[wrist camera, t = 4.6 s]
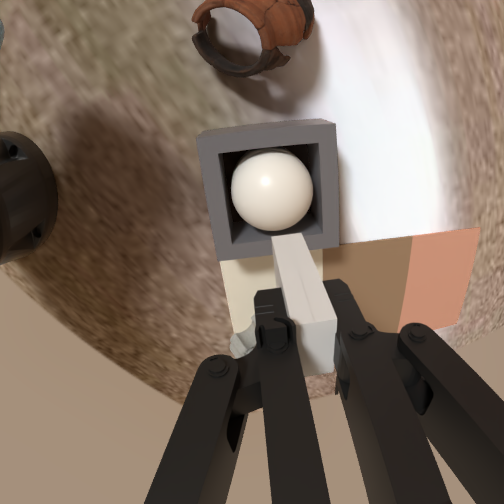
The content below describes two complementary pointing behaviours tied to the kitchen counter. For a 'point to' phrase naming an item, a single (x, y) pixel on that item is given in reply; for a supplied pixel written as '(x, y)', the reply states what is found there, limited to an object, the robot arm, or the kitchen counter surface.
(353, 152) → the kitchen counter surface
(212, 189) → the housing
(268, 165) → the cream ball
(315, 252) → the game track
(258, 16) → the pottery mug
